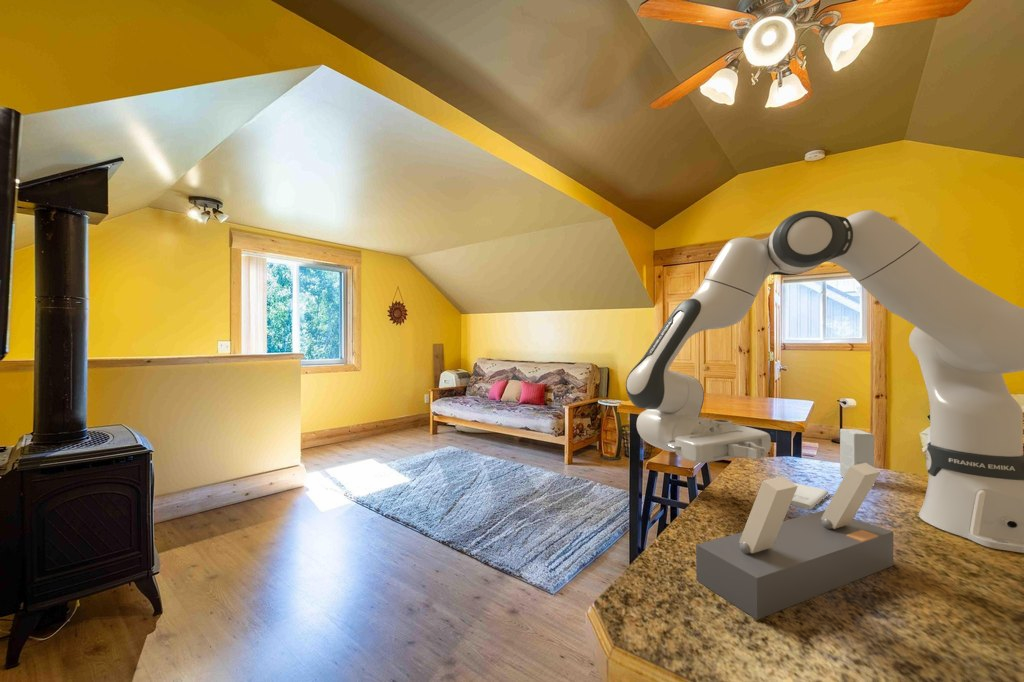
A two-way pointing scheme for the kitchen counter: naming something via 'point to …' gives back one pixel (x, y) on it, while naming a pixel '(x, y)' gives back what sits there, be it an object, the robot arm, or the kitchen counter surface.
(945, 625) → the kitchen counter surface
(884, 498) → the kitchen counter surface
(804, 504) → the external hard drive
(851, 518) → the lever
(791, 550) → the switch box
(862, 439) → the skincare box
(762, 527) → the lever
